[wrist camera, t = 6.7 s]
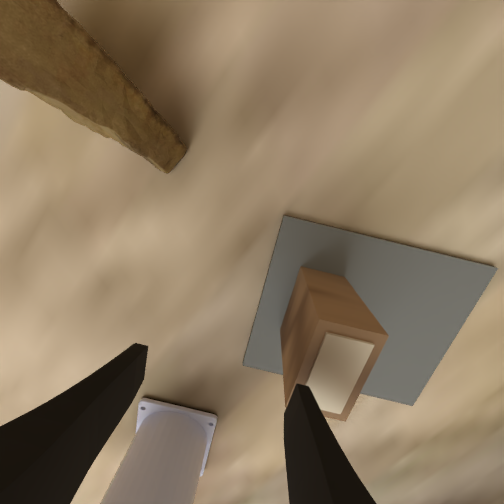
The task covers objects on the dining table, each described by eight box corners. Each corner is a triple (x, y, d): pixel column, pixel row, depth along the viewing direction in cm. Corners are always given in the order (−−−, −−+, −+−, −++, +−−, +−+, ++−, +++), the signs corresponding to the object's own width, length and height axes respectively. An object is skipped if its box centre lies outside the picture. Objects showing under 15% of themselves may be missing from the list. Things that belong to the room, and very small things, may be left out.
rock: (227, 146, 14) (132, -91, 10) (80, 206, 9) (-239, -240, 5) (148, 182, 21) (76, 53, 17) (43, 227, 16) (-95, 57, 12)
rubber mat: (410, 401, 22) (412, 405, 22) (242, 362, 22) (242, 365, 21) (493, 266, 17) (498, 268, 17) (283, 214, 17) (284, 215, 17)
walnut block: (319, 339, 20) (346, 424, 13) (279, 330, 20) (285, 409, 13) (344, 276, 18) (390, 338, 11) (300, 266, 18) (319, 320, 11)
